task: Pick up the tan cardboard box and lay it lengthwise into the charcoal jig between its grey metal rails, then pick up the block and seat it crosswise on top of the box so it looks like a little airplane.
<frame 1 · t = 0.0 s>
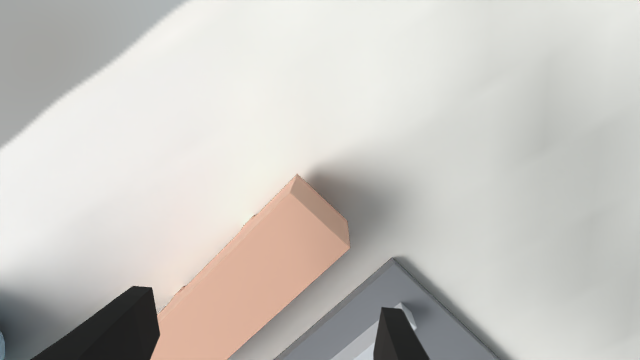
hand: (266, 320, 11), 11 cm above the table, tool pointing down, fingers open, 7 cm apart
block: (236, 276, 23), on the table
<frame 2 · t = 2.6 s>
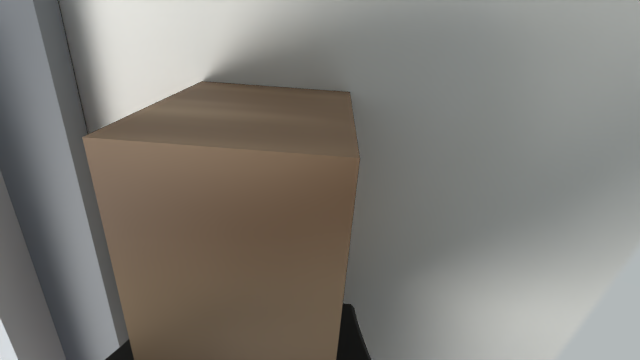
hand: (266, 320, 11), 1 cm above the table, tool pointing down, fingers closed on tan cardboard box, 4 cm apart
tan cardboard box: (274, 286, 13), on the table, touching gripper
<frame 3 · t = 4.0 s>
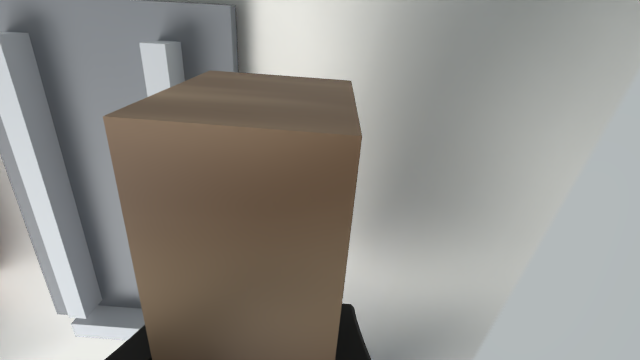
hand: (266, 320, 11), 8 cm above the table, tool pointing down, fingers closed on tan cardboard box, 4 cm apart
jig: (133, 186, 19), on the table
tan cardboard box: (277, 272, 13), point 6 cm above the table, touching gripper
when the fingers open (4 cm above the table, at t = 5.7 s): tan cardboard box stays where it is, resting on jig.
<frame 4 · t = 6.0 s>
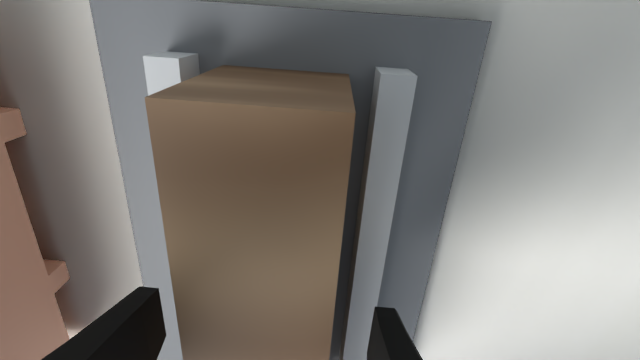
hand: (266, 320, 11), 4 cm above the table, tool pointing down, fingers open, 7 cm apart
jig: (284, 243, 15), on the table
tan cardboard box: (281, 250, 14), point 1 cm above the table, touching jig
block: (0, 199, 15), on the table
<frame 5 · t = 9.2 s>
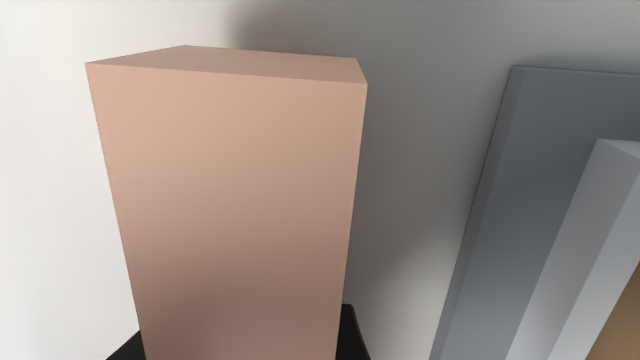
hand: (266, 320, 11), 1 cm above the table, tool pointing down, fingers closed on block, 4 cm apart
jig: (606, 339, 13), on the table
tan cardboard box: (625, 354, 12), point 1 cm above the table, touching jig
block: (273, 289, 12), on the table, touching gripper
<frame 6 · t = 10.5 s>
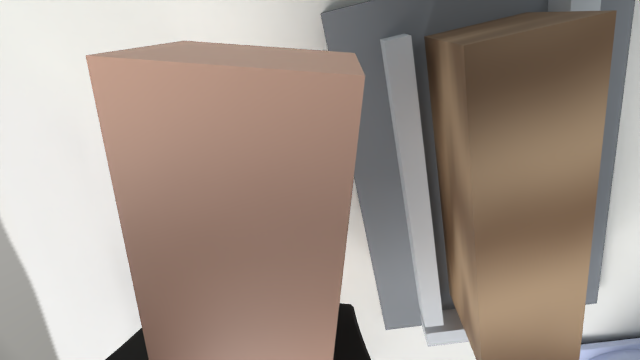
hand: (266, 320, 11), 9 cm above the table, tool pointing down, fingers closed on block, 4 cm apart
jig: (475, 175, 18), on the table
tan cardboard box: (481, 178, 17), point 1 cm above the table, touching jig
block: (273, 285, 12), point 7 cm above the table, touching gripper
when the fingers open (8 cm above the table, at t = 11.9 s): block drops 2 cm, resting on tan cardboard box.
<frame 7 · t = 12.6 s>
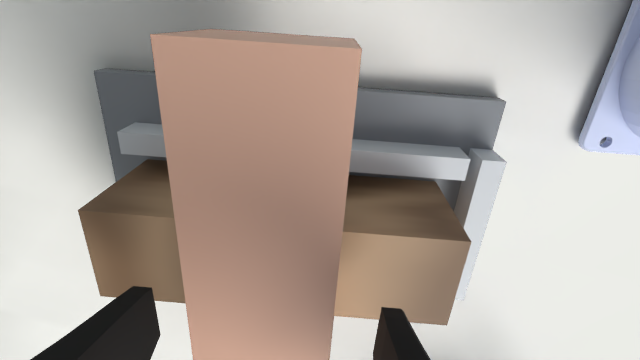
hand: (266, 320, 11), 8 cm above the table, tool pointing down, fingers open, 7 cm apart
jig: (295, 199, 19), on the table
tan cardboard box: (289, 206, 18), point 1 cm above the table, touching jig, block
block: (282, 248, 14), point 5 cm above the table, touching tan cardboard box
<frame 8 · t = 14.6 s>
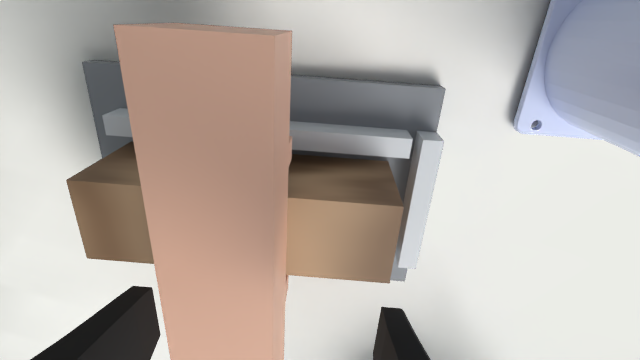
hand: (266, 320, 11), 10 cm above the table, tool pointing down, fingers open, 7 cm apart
jig: (265, 178, 21), on the table
tan cardboard box: (259, 184, 20), point 1 cm above the table, touching jig, block
block: (246, 216, 16), point 5 cm above the table, touching tan cardboard box
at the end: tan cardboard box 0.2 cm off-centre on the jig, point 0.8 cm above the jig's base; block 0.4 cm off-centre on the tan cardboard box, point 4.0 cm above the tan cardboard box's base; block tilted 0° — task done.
